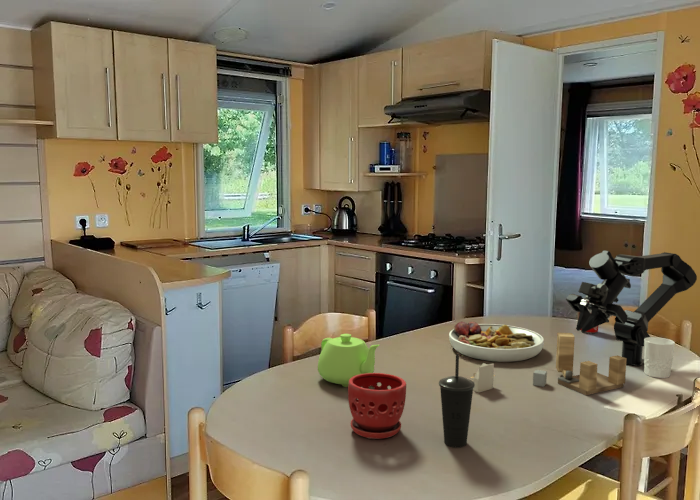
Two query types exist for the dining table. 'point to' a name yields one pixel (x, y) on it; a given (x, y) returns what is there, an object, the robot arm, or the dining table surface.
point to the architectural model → (484, 378)
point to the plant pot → (376, 404)
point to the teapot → (345, 359)
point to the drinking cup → (456, 407)
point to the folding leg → (565, 354)
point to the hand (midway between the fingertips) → (579, 330)
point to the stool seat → (597, 377)
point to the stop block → (539, 378)
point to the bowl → (495, 342)
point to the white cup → (658, 356)
